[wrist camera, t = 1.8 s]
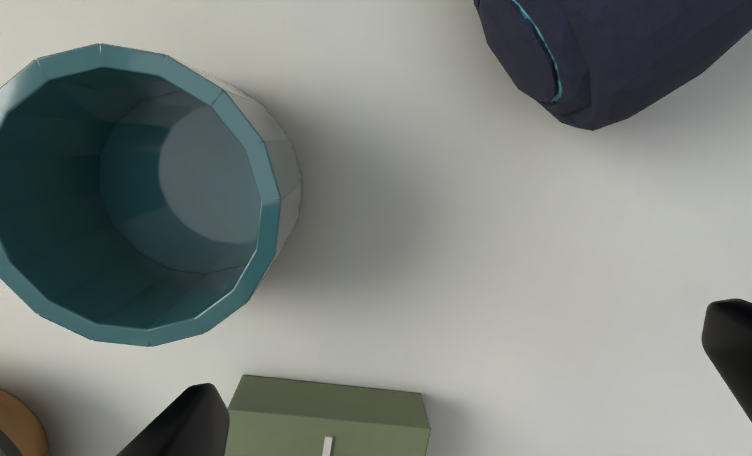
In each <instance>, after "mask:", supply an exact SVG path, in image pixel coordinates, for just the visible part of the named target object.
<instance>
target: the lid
mask: <svg viewBox="0 0 752 456" xmlns="http://www.w3.org/2000/svg"><path fill="white" fill-rule="evenodd" d="M0 456H23V455H22V454H21V452H20V450H19V449H18V448H17V447H16V445H15V444H14V443H13V442H12V440H11V439H10V438H9V437H8V436H7V435H6V434H5V433H4V432H3V431H2V430H1V429H0Z"/></svg>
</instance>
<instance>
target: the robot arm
mask: <svg viewBox="0 0 752 456" xmlns="http://www.w3.org/2000/svg"><path fill="white" fill-rule="evenodd" d="M702 345H703V348H704V350H705V352H706V354H707V355H708V357H709V358H710V360H711V361H712V363H713V364H714V366H715V367H716V369H717V370H718V372H719V374H720V375H721V377H722V378H723V380H724V381H725V383H726V384H727V386H728V387H729V389H730V390H731V392H732V393H733V395H734V396H735V398H736V399H737V401H738V402H739V404H740V405H741V407H742V408H743V410H744V411H745V413H746V414H747V416H748V417H749V419H750V421H751V422H752V303H750V302H748V301H745V300H742V299H727V300H721V301H715V302H712V303H710V304H709V306H708V307H707V310H706V316H705V321H704V326H703V332H702ZM229 425H230V416H229V411H228V409H227V407H226V405H225V404H224V402H223V400H222V398H221V396H220V395H219V393H218V391H217V389H216V387H215V386H214V385H213V384H211V383H205V384H199V385H193V386H190V387H188V388H187V389H186V390H185V391H184V392H183V393H182V394H181V395H180V396H179V397H178V398H176V399H175V400H174V401H173V402H172V403H171V404H170V405H169V406H168V407H167V408H166V409H165V410H164V411H163V412H162V413H161V414H160V415H159V416H157V417H156V418H155V419H154V420H153V421H152V422H151V423H150V424H149V425H148V426H147V427H146V428H145V429H144V430H143V431H142V432H141V433H139V434H138V435H137V436H136V437H135V438H134V439H133V440H132V441H131V442H130V443H129V444H128V445H127V446H126V447H125V448H124V449H123V450H122V451H120V452H119V453H118V454H117V455H116V456H225V450H226V443H227V437H228V431H229Z"/></svg>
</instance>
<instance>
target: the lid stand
mask: <svg viewBox="0 0 752 456" xmlns="http://www.w3.org/2000/svg"><path fill="white" fill-rule="evenodd" d="M0 429H1V430H2V431H3V432H4V433H5V434H6V435H7V436H8V437H9V438H10V439H11V440H12V442H13V443H14V444H15V445H16V447H17V448H18V449H19V450H20V452H21V454H22V455H23V456H48V443H47V439H46V436H45V433H44V431H43V428H42V426H41V425H40V423H39V421H38V420H37V418H36V417H35V416H34V414H33V413H32V412H31V411H30V410H29V409H28V408H27V407H26V406H25V405H24V404H23V403H21V402H20V401H19V400H18V399H16V398H15V397H13V396H12V395H10V394H8V393H6V392H4V391H2V390H1V389H0Z"/></svg>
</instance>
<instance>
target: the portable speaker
mask: <svg viewBox="0 0 752 456" xmlns="http://www.w3.org/2000/svg"><path fill="white" fill-rule="evenodd" d="M473 1H474V4H475V7H476V9H477V11H478V14H479V16H480V19H481V23H482V26H483V30H484V33H485V37H486V40H487V44H488V45H489V47H490V48H491V50H492V51H493V53H494V54H495V56H496V57H497V59H498V60H499V62H500V63H501V64H502V66H503V67H504V69H505V70H506V72H507V73H508V75H509V76H510V78H511V79H512V81H513V82H514V83H515V85H516V86H517V88H518V89H519V90H521V91H522V92H524V93H526V94H527V95H529V96H530V97H532V98H533V99H535V100H536V101H537V102H538V103H539V104H541V105H542V106H543V107H544V108H545V109H546V110H547V111H549V112H550V113H551V114H552V115H553V116H554V117H556V118H557V119H558V120H559V121H560V122H561V123H564V124H567V125H571V126H574V127H577V128H581V129H587V130H592V131H593V130H596V129H599V128H602V127H605V126H608V125H610V124H613V123H616V122H619V121H622V120H624V119H627V118H629V117H631V116H633V115H635V114H636V113H638V112H640V111H641V110H643V109H645V108H646V107H648V106H649V105H651V104H653V103H654V102H656V101H658V100H659V99H661V98H662V97H664V96H666V95H667V94H669V93H671V92H672V91H674V90H675V89H677V88H679V87H680V86H682V85H684V84H685V83H687V82H689V81H690V80H692V79H693V78H695V77H697V76H698V75H700V74H702V73H703V72H704V71H705V70H706V69H707V68H708V67H710V66H711V65H712V64H713V63H714V62H715V61H716V60H717V59H719V58H720V57H721V56H722V55H723V54H724V53H725V52H726V51H727V50H729V49H730V48H731V47H732V46H733V45H734V44H735V43H736V42H738V41H739V40H740V39H741V38H742V37H743V36H744V35H745V34H747V33H748V32H749V31H750V30H751V29H752V0H473Z"/></svg>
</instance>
